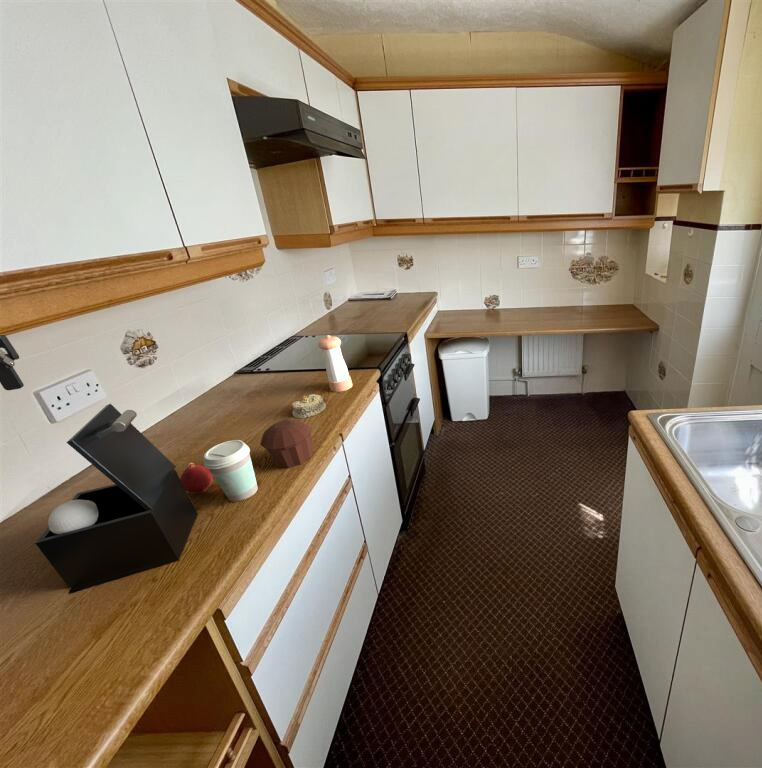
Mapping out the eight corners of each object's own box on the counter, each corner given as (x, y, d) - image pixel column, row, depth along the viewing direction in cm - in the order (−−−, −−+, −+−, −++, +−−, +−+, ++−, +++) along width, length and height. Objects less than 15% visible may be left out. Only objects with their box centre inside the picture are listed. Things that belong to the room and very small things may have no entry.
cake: (333, 407, 130) (330, 392, 128) (307, 422, 122) (303, 407, 120) (312, 399, 134) (308, 385, 132) (285, 414, 126) (280, 399, 124)
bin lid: (65, 442, 62) (101, 426, 63) (106, 405, 74) (135, 392, 75) (147, 511, 71) (177, 496, 72) (172, 468, 82) (197, 456, 83)
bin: (72, 592, 71) (34, 543, 66) (107, 538, 82) (77, 492, 77) (178, 560, 76) (151, 512, 71) (197, 513, 87) (175, 469, 82)
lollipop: (112, 572, 75) (49, 529, 65) (93, 560, 76) (29, 517, 67) (146, 542, 79) (92, 498, 69) (127, 532, 81) (72, 487, 71)
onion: (203, 501, 91) (189, 472, 88) (181, 499, 92) (166, 471, 88) (223, 484, 96) (210, 456, 93) (202, 483, 97) (189, 455, 94)
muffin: (323, 442, 110) (313, 410, 106) (312, 467, 100) (300, 432, 96) (277, 448, 109) (265, 416, 105) (261, 474, 99) (247, 439, 95)
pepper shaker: (356, 386, 142) (343, 334, 134) (336, 394, 138) (321, 340, 130) (346, 381, 147) (333, 330, 139) (327, 388, 142) (312, 336, 134)
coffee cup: (219, 492, 93) (198, 449, 88) (260, 476, 98) (243, 434, 93) (224, 512, 87) (202, 466, 82) (268, 493, 92) (250, 449, 87)
